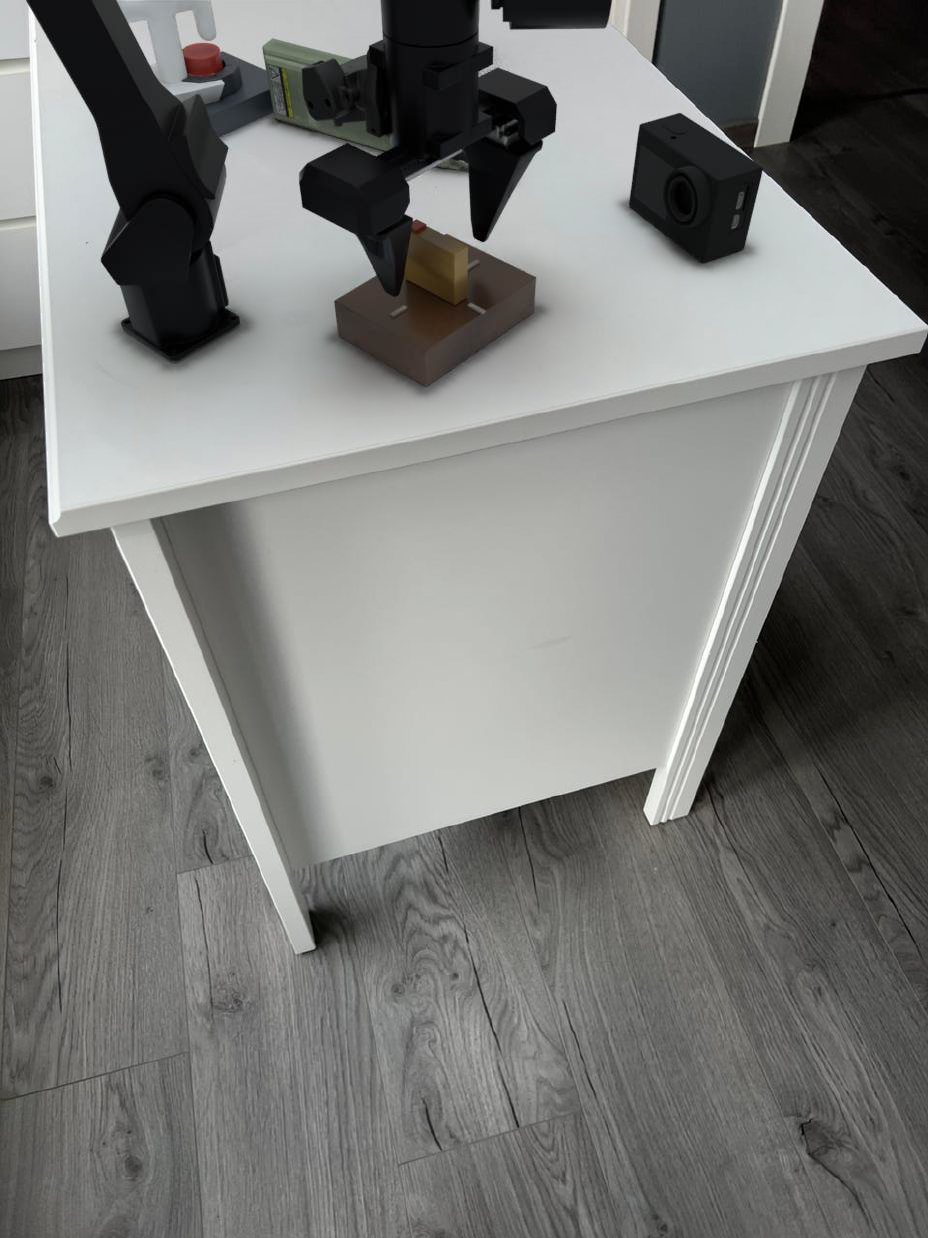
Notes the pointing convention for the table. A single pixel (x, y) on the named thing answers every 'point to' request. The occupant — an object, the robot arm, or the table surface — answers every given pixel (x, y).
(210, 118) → the box
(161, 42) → the white bracket
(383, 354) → the plate
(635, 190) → the digital camera
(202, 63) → the release button
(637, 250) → the table surface
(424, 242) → the gold box
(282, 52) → the handheld radio
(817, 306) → the table surface
